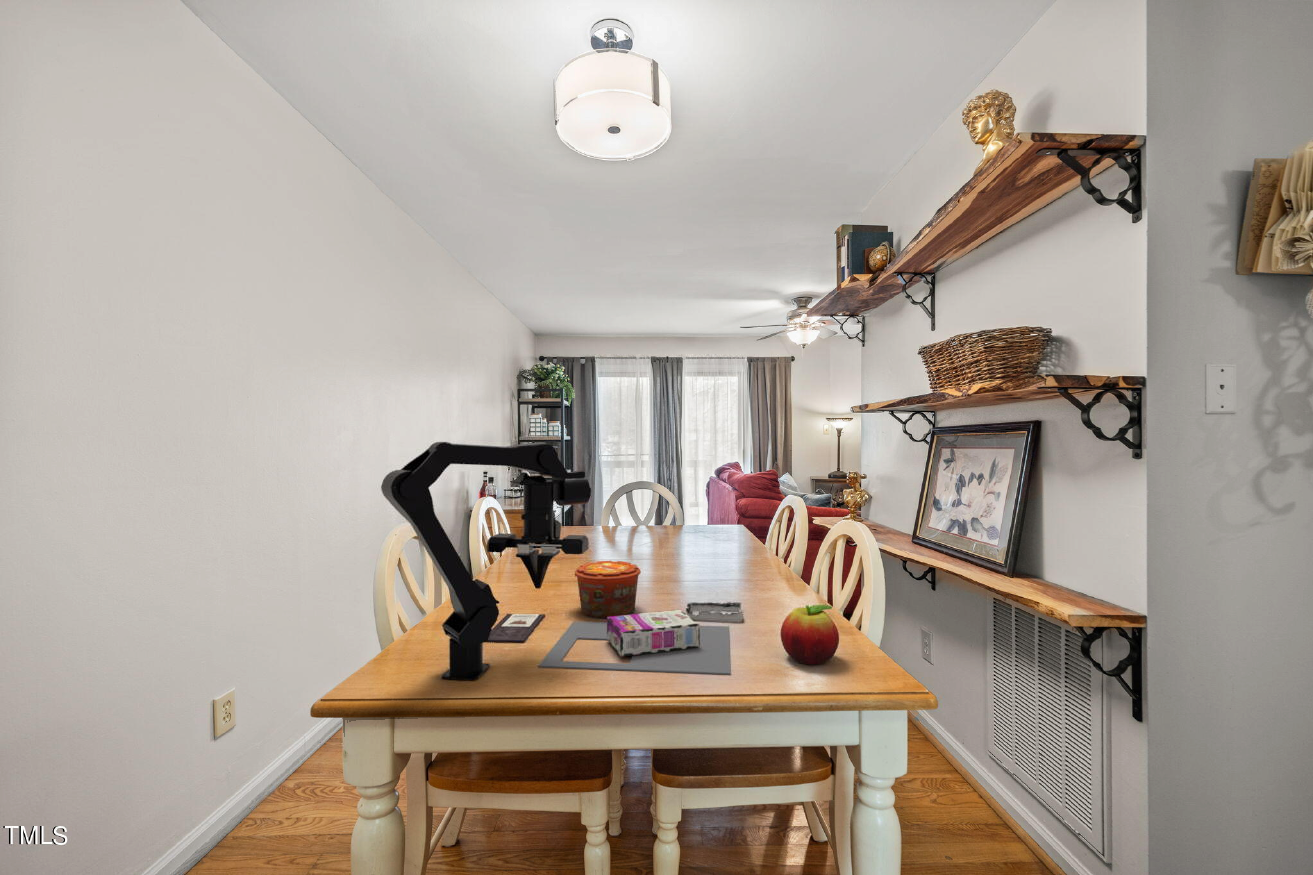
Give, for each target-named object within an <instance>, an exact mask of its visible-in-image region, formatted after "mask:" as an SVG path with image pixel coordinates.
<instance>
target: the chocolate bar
mask: <svg viewBox="0 0 1313 875" xmlns="http://www.w3.org/2000/svg"><path fill="white" fill-rule="evenodd" d="M545 617H546V614H543V613H541V614H539V613H538V614H537V613H535V614H534V613H507V614H506V615H505V616H504V617H503V618H502V619H501V620H500V621H498V623H497V624H495V625H494V626H493V627H492V629H491V632H490V635H489V638H488V641H487V642H490V644H491V642H492V643H493V642H494V643H496V644H499V643H500V644H501V643H502V644H525V643H526V642H527V641H528V640H529V638H530V637H529V636H531V635H532V634H533V632H535V630H536V629H537V628H538V626H540V624H541V623H542V621H544V619H545ZM540 622H541V623H540ZM536 627H537V628H536ZM535 628H536V629H535ZM534 629H535V630H534ZM494 643H493V644H494Z"/></svg>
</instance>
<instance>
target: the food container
mask: <svg viewBox="0 0 1313 875" xmlns="http://www.w3.org/2000/svg"><path fill="white" fill-rule="evenodd" d="M640 574H642V573H641V568H640V567H638V565H637V564H633V563H632V564H631V562H629V561H620V560H618V561H617V560H616V561H613V560H598V561H596V562H586V563H583V564H580V566H578V567H577V568H576V569H575V570H574V576H575V577H576V579H577V580H576V581H577V587H578V593H579V595H578V596H579V602H580V603H579V604H580V608H581V614H582V615H584V616H586V617H588V618H592V619H607V617H612V616H621V615H631V614H633V613H634V612H635V609H636V599H637V591H638V582H639V576H640Z"/></svg>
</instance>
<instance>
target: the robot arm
mask: <svg viewBox="0 0 1313 875" xmlns="http://www.w3.org/2000/svg"><path fill="white" fill-rule="evenodd" d="M558 454H559V453H558V451H557V449H556V448H555V446H554V445H553V444H550V443H548V442H528V443H520V444H513V445H509V446H503V445H502V446H497V445H482V444H480V445H479V444H463V443H462V444H461V443H452V442H448V441H436V442H434V443H432V444H431V445H430V446H428V448H427V449H426V450H425V451H423V452H422V453H420V454H419V455H418V456H415V458H413V459H412V460H410V461H409V462H408V463H407V464H405V465H404V466H403V467H402V468H401V469H395V470H392V471H391V472H389V473H388V474H386V476H384V478H383V479H382V483H381V486H380V488H381V492H382V495H383V496H384V498H385V499H386V500H387V501H388V502H389V504H390V505H391V506H392V507H393V508H394V509H395V510H396V511H397V512H398V513H399V514H400V515H401V516H402V517H403V518H404V519H405V520H406V521H407V522H408V523H409V524H410V525H411V527H412V528H413V530H414V532H415V534H416V536H417V537H418V539H419V541H420V542H421V544H422V546H423V547H424V550H425V551H426V553H427V554H428V556H429V558H430V559H431V561H432V563H433V564H434V566H435V567H436V569H437V571H438V573H439V575H440V576H441V578H442V579H443V581H444V583H445V585H446V586H447V588H448V592H449V598H450V603H451V606H452V608H453V612H452V613H450V615H449V616H448V617H447V618H446V620H445V621H444V622H443V623H442V624H441V627H442V630H443V632H444V635H445V636H448V637H449V640H448V643H449V644H448V646H449V647H448V648H449V651H448V652H449V654H448V659H449V662H448V663H449V666H448V667H449V668H448V669H447V670H446V671H445V672H444V673H442V674H441V675H440V676H441V679H442V680H443V679H445V680H462V681H463V680H464V681H465V680H466V681H476V680H478V679H479V678H480V677H481V676H482V675H483V674H484V673H485V672H486V671H487V670H488V669H489V668H490V667H491V664H490V663H485V662H484V657H483V656H484V652H483V651H484V648H483V647H484V646H483V645H484V642H487V641H488V638H489V635H490V632H491V630H492V629H493V628H494V627H495V625H496V622H497V621H498V617H499V616H500V610H499V607H498V604H500V601H499V600H498V599H497V598H495V595H494V593H493V591H492V588H491V586H490V585H489V584H488V583H486V582H484V581H482V580H480V579H478V578H475V579H473V578H472V576H471V574H470V573H469V571H468V569H467V567H466V565H465V564H464V563H463V561H462V559H461V557H460V555H459V554H458V552H457V549H455V547H454V545H453V543H452V541H451V540H450V538H449V536H448V534H447V532H446V531H445V529H444V527H443V526H442V524H441V522H440V520H439V519H438V517H437V515H436V512H435V506H434V501H433V497H432V494H431V491H430V487H431V486H432V485H434V484H435V482H437V481H438V479H439V478H440V477H441V476H442V474H443V473H444V472H445V470H446V469H447V468H448V467H449V466H450V465H471V466H473V465H475V466H502V467H508V468H509V467H510V468H512V469H516V470H521V471H523V472H520V473H519V475H517V477H516V478H515V479H514V480H512V484H513V485H515V486H523V494H522V495H523V499H522V500H523V502H522V503H523V504H522V505H523V510H522V511H523V513H522V514H521V521H523V522H522V523H523V524H522V525H523V526H522V528H523V529H522V532H523V534H522V535H521V537H519V538H518V537H517V535H516V533H497V534H495V535H492V536H490V537H489V538H488V539H487V542H486V552H487V553H503V552H504V551H505V550H506V549H507V548H508V549H513V548H514V549H516V550H517V551H516V554H515V557H516V558H520V560H521V562H522V563H523V565H524V567H525V568H526V571H527V572H528V575H529V577H530V578H531V579H530V580H531V581H532V584H533V586H534V588H535V589H536V590H537V589H541V587H542V586H543V582H544V579H545V576H546V574H547V571H548V567H549V565H550V563H551V561H552V559H553V558H555V557H556V556H558V555H559V554H560V553H561V551H562V552H563V553H564V554H565V555H582V554H585V553H586V552H587V551H589V550H590V548H589V544H590V543H589V538H588V536H587V535H585V534H583V535H582V534H568V535H566V536H565V537H563V538H561V531H562V522H560V521H559V520H557V519H556V512H555V510H554V502H555V504H556V505H558V506H559V507H562V506H563V507H565V506H575V505H577V506H578V505H586V504H587V503H588V502H589V501H590V499H591V494H592V488H591V486H590V482H589V480H588V479H587V477H586V471H584V470H574V471H568V470H567V469H566V468H565V466H564V465H563V462H562V461H561V460H560V459H559V456H558ZM524 471H525V472H524ZM527 472H529V473H536V474H538V475H530V474H528V473H527ZM545 477H548V478H549V477H551V479H548V480H547V479H546V478H545ZM540 550H541V553H540Z"/></svg>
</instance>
